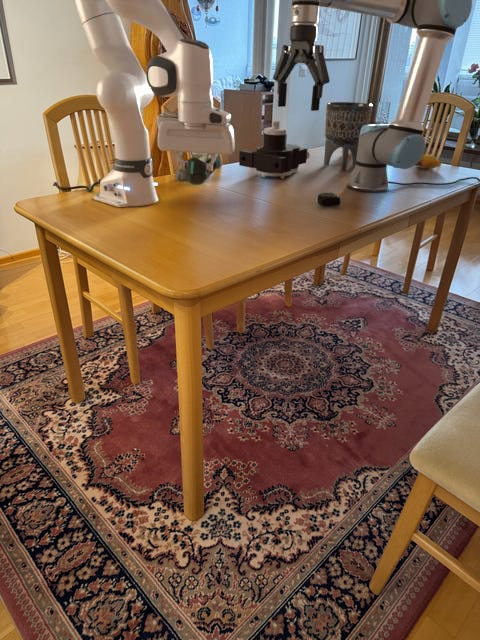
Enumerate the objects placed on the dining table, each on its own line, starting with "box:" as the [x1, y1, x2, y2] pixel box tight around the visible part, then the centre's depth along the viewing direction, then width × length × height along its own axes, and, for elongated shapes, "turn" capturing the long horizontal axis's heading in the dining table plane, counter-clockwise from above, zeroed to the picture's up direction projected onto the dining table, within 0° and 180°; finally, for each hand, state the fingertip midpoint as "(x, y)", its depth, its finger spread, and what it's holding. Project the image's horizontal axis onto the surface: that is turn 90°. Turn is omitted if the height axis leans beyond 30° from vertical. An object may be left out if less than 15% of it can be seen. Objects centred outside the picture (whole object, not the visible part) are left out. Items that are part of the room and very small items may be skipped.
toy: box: [414, 154, 442, 170], centre depth 212 cm, size 11×6×15 cm
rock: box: [174, 160, 188, 182], centre depth 182 cm, size 13×9×6 cm, turn 131°
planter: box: [323, 101, 374, 172], centre depth 204 cm, size 20×20×26 cm
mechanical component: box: [238, 120, 311, 179], centre depth 191 cm, size 22×21×30 cm
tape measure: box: [317, 192, 342, 208], centre depth 153 cm, size 7×7×4 cm
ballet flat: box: [185, 153, 224, 186], centre depth 128 cm, size 8×24×8 cm, turn 172°
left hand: (196, 169), depth 122 cm, fingers closed on ballet flat, 6 cm apart
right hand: (297, 108), depth 137 cm, fingers open, 13 cm apart
